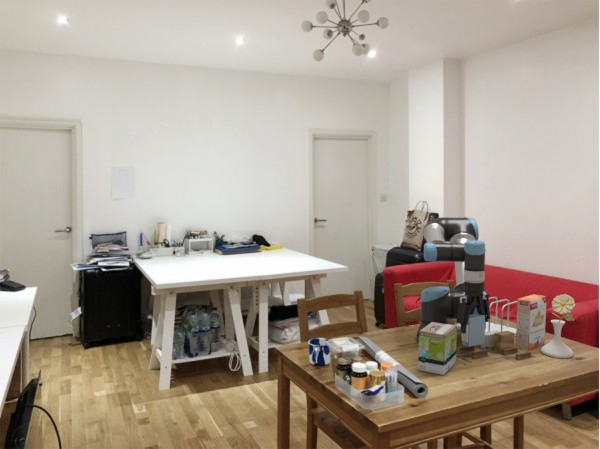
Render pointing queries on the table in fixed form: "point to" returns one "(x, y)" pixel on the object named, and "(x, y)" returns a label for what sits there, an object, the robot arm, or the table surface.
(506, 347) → the offcut brown
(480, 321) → the panel
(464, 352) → the stand
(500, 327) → the file sorter
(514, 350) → the rack
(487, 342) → the offcut grey
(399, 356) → the table surface
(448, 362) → the tea box
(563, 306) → the flower in vase
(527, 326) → the cracker box
